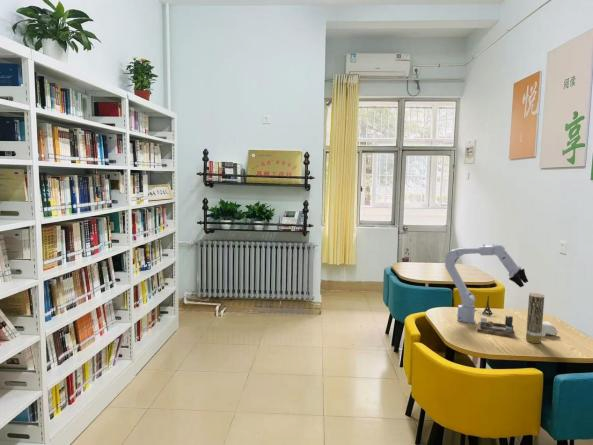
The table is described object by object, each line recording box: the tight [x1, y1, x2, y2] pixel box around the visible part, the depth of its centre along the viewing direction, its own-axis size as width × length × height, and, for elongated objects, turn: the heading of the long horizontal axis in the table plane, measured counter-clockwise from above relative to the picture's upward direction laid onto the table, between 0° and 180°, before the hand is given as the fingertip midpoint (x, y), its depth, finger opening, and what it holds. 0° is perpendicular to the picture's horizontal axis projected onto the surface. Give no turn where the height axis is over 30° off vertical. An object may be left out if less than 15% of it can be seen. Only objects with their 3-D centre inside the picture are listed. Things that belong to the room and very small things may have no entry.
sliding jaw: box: [504, 315, 514, 330], centre depth 221 cm, size 4×8×7 cm, turn 153°
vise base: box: [476, 317, 515, 339], centre depth 224 cm, size 18×14×5 cm
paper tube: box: [525, 292, 545, 344], centre depth 208 cm, size 7×7×25 cm
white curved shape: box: [541, 321, 559, 338], centre depth 220 cm, size 9×8×15 cm
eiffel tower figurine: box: [475, 294, 496, 318], centre depth 256 cm, size 15×10×13 cm
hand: (524, 284), depth 223 cm, fingers open, 7 cm apart
